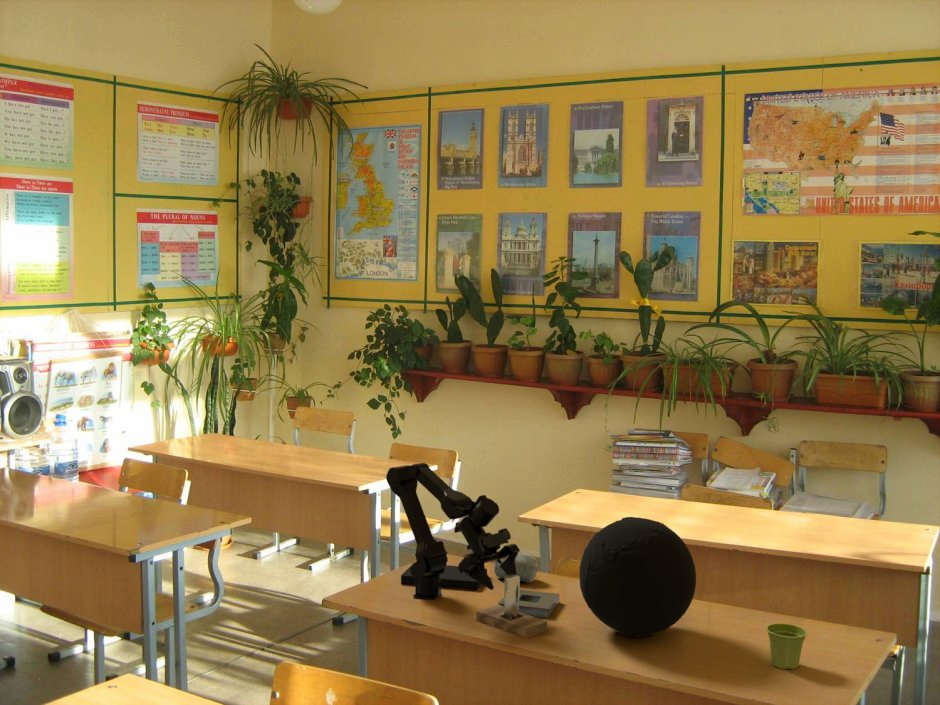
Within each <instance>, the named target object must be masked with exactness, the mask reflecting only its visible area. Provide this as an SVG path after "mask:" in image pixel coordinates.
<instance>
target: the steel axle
mask: <svg viewBox="0 0 940 705" xmlns="http://www.w3.org/2000/svg"><path fill="white" fill-rule="evenodd" d="M503 579H504V584H503V585H504V590H503V591H504V592H503V593H504V594H503V595H504V596H503V598H504V618H505V619H508V620H513V619H516V618H519V592H520V590H521V588H520V584H521V583H520V582H521V581H520V577H519V576H518V575H506V576H505V578H503Z"/></svg>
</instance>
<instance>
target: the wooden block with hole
mask: <svg viewBox="0 0 940 705" xmlns="http://www.w3.org/2000/svg"><path fill="white" fill-rule="evenodd" d="M475 621H477V622H481V623H484V624H485V625H486V624H487V625H489V626H492V627H494V628H497V629H500V630H504V631H506V632H509V633H510V634H511V633H512V634H514V635H517V636H519V637H521V638H526V639H527V638H529V637H532V636H536V635H539V634H542V633H544V632H547V631H548V621H547V620H544V619H543V618H542V619H541V618H540V617H535V616H530V615H527V614H524V613H521V612H519V618H516V619H513V620H508V619H505V618H504V607H503V606H500V605H498V604H495V605H491V606H488V607H485V608H482V609H479V610H476V620H475Z"/></svg>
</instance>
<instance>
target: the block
mask: <svg viewBox="0 0 940 705" xmlns="http://www.w3.org/2000/svg"><path fill="white" fill-rule="evenodd" d="M559 604H560V593H556V592H555V593H554V592H547V591H537V590H536V591H535V590H530V589H529V590H528V589H520V592H519V612H521V613H524V614H527V615H530V616H533V617H536V618H546V619H549V618H550V616H551V615H552V614H553V612H554V611H555V609H556V608H557V606H559ZM497 605H500V606H503V607H504V597H503V598H502V599H501V600H500V601H499V602H498V604H497Z"/></svg>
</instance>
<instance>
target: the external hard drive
mask: <svg viewBox="0 0 940 705" xmlns="http://www.w3.org/2000/svg"><path fill="white" fill-rule="evenodd" d="M414 563H415V562H413V563H412V564H411V565H410V566H409V567H408V568H407V569H406V570H405V571H404V572H403V573H402V574H401V575H400V584H401V585H406V586H407V585H408V586H409V585H410V586H415V584H416V577H415V576H412V575H411V571H410V568H411V567H412V565H413V564H414ZM485 571H486V572H487V573H488V568H487V567H485ZM440 579H441V589H442V588H444V589H451V590H453V589H454V590H467V591H478V589H480V587H481V586H482V584H481V583H480V582H478V581H477V580H475V579H473V578H471V577H470V576H466V574H463V575H462V574H461V573H460V571H459V569H458V565H447V564H446V567H445V570H444V573H443V574H442V573H441V574H440Z"/></svg>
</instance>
